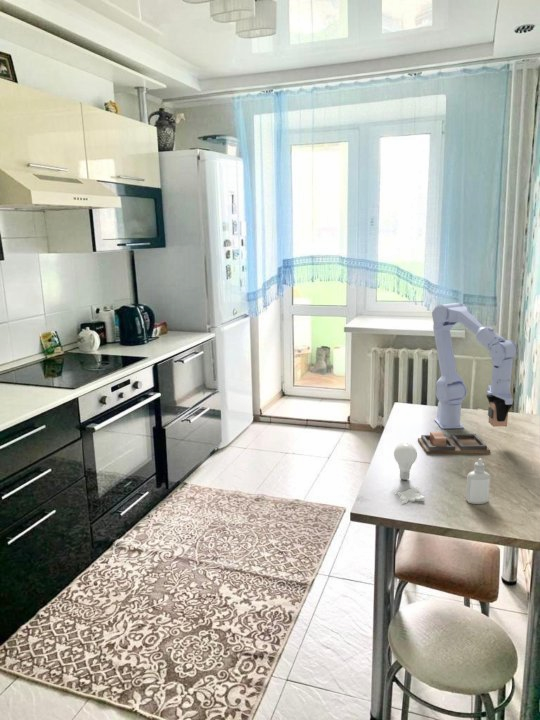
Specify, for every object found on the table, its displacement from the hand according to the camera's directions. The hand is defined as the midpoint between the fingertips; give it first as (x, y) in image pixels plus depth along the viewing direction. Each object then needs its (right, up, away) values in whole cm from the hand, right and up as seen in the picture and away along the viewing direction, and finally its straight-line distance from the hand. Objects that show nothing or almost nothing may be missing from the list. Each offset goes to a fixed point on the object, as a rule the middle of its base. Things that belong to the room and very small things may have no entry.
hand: (498, 418), depth 174 cm
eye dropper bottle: (-20, -18, -33) cm, 43 cm away
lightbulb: (-36, -15, -20) cm, 44 cm away
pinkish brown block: (0, -2, +1) cm, 2 cm away
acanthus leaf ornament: (-37, -18, -30) cm, 51 cm away
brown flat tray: (-14, -9, +1) cm, 17 cm away
